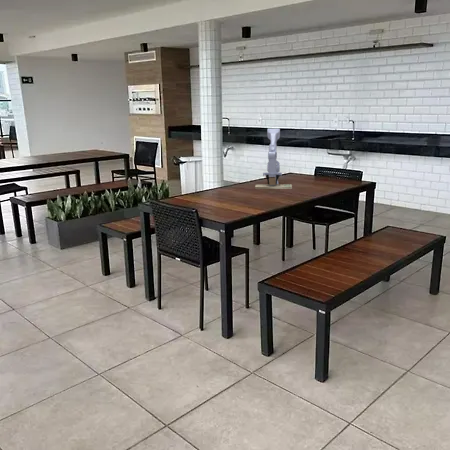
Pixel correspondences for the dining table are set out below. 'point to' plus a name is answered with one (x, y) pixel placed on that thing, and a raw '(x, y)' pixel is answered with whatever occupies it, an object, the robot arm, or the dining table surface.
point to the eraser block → (272, 181)
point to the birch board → (273, 187)
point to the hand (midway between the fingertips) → (272, 184)
